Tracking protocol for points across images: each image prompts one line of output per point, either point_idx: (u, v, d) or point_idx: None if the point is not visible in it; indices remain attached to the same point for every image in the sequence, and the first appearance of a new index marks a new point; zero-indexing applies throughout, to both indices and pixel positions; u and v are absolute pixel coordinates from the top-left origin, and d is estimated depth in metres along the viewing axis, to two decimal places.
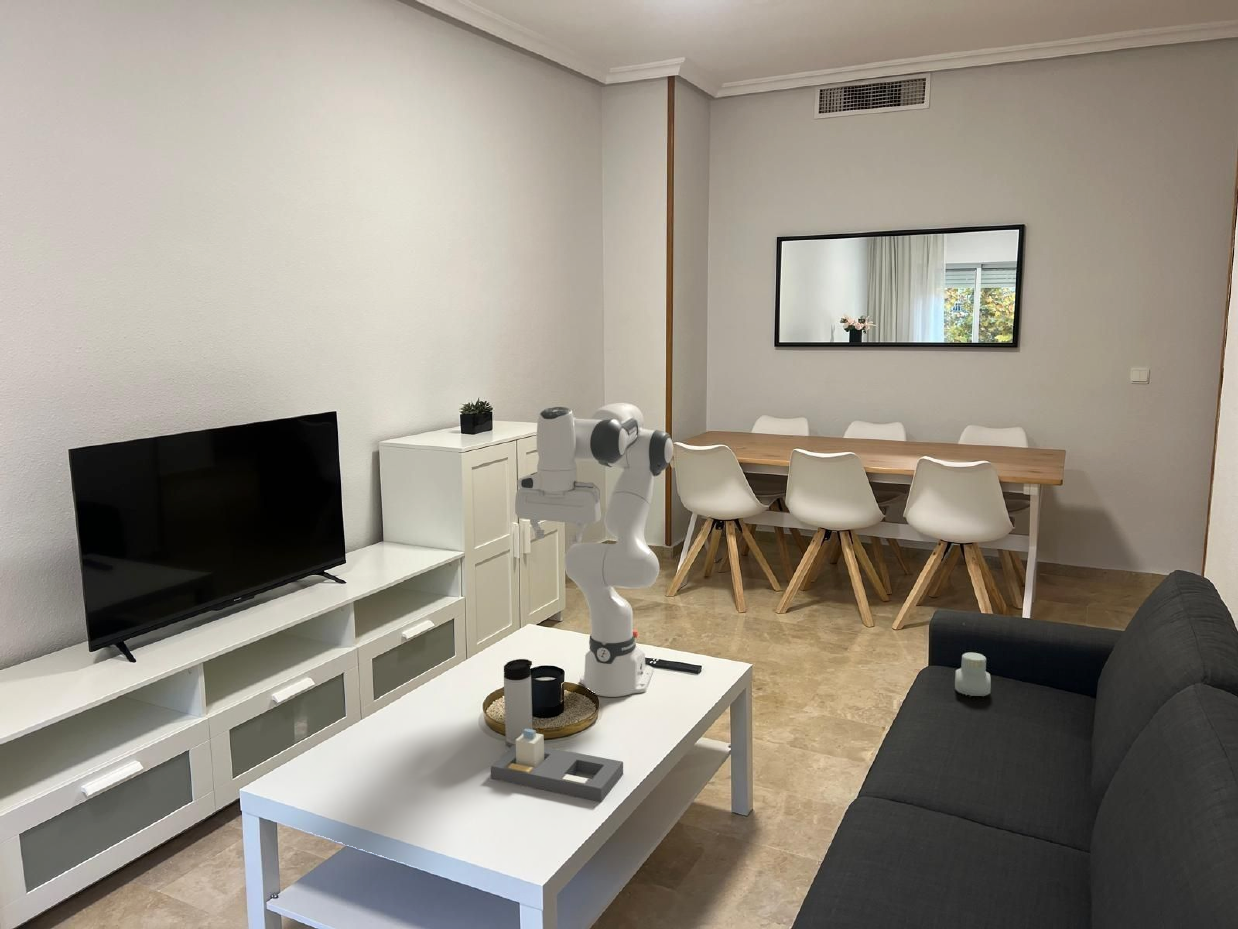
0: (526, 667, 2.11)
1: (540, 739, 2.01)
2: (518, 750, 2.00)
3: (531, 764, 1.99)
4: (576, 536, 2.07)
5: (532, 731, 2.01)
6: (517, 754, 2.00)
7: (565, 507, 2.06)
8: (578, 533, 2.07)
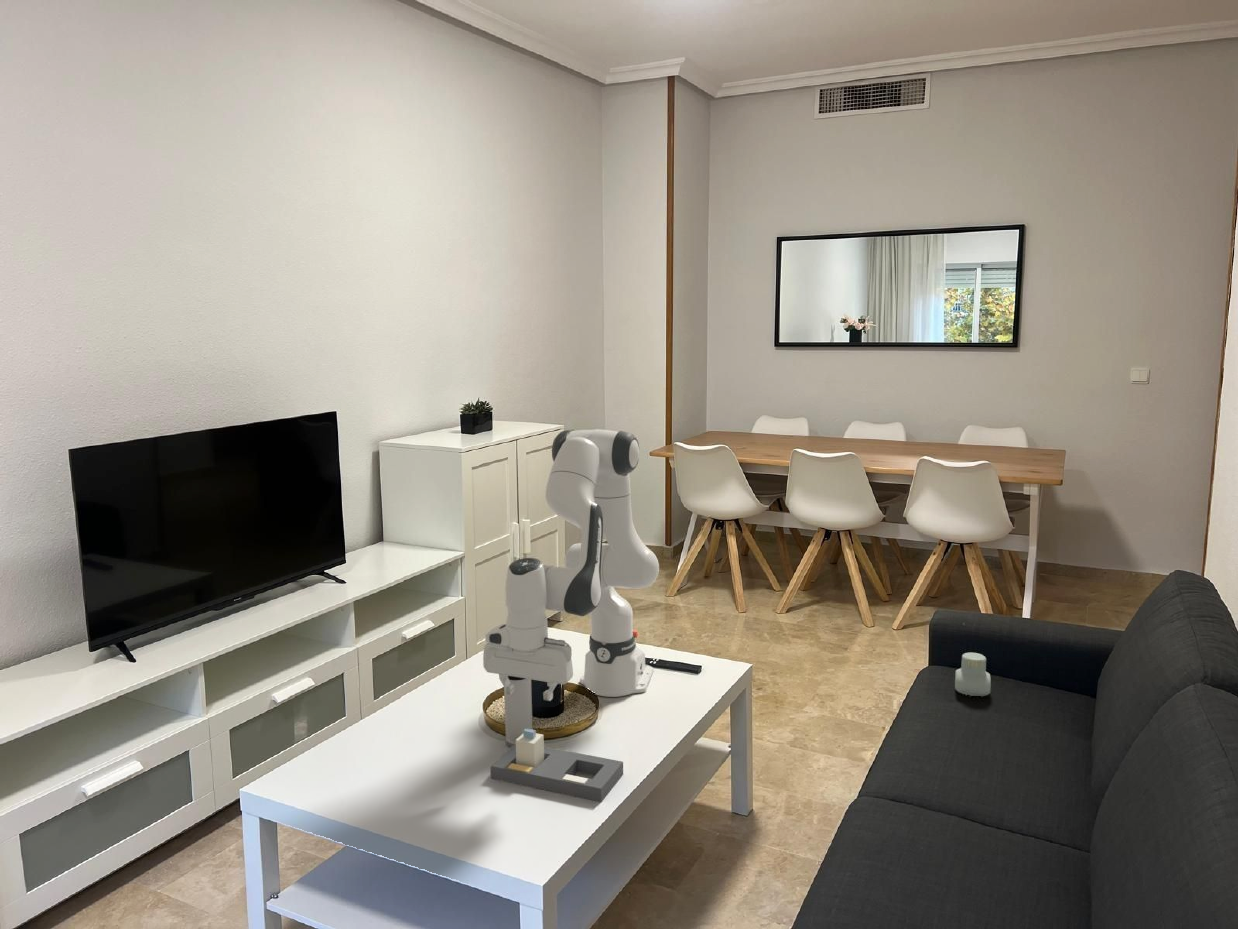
0: None
1: (540, 739, 2.01)
2: (518, 750, 2.00)
3: (531, 764, 1.99)
4: (547, 694, 1.97)
5: (532, 731, 2.01)
6: (517, 754, 2.00)
7: (535, 664, 1.95)
8: (549, 692, 1.96)
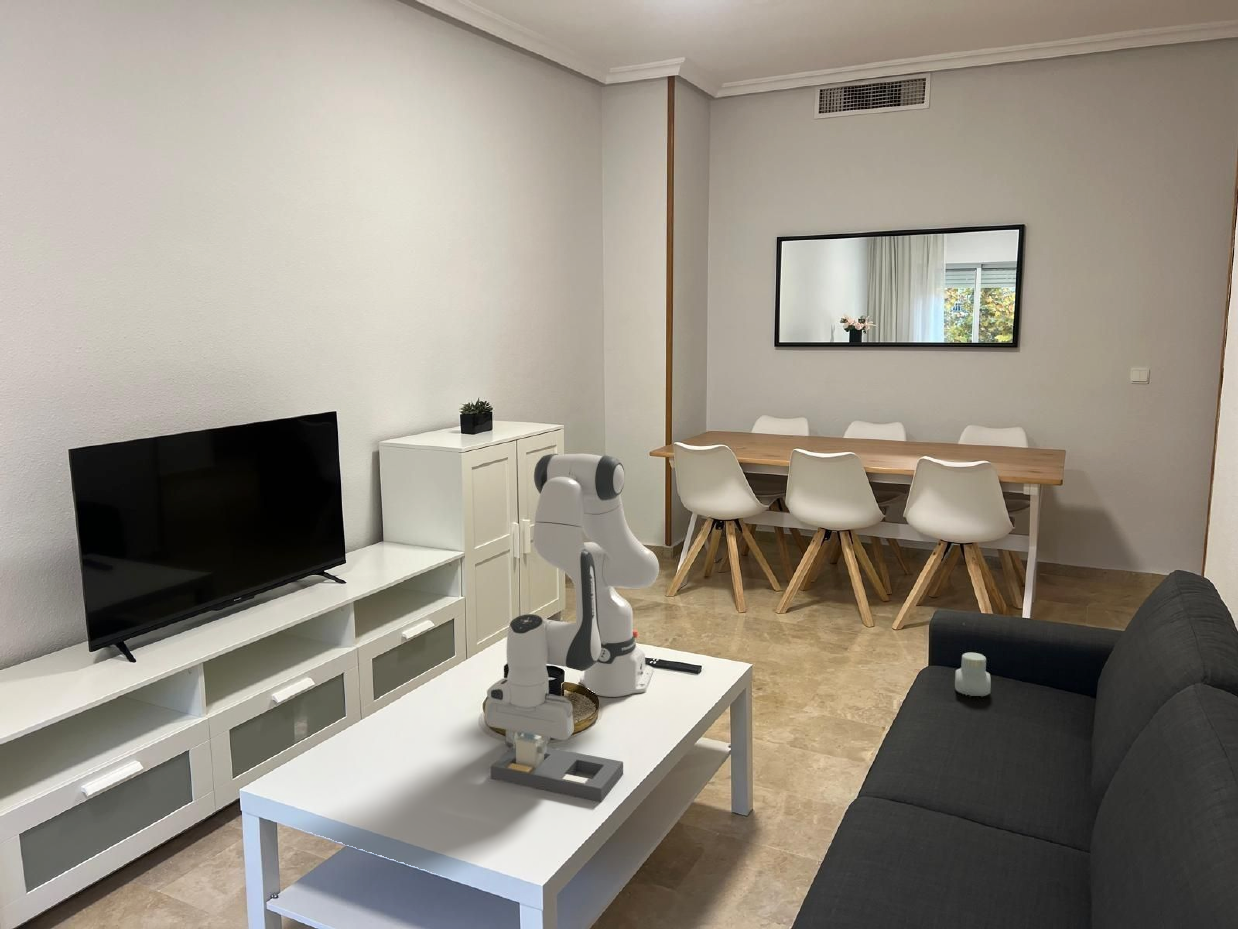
0: None
1: (540, 739, 2.01)
2: (518, 750, 2.00)
3: (531, 764, 1.99)
4: (541, 748, 2.00)
5: None
6: (517, 754, 2.00)
7: (536, 720, 1.98)
8: (543, 745, 1.99)
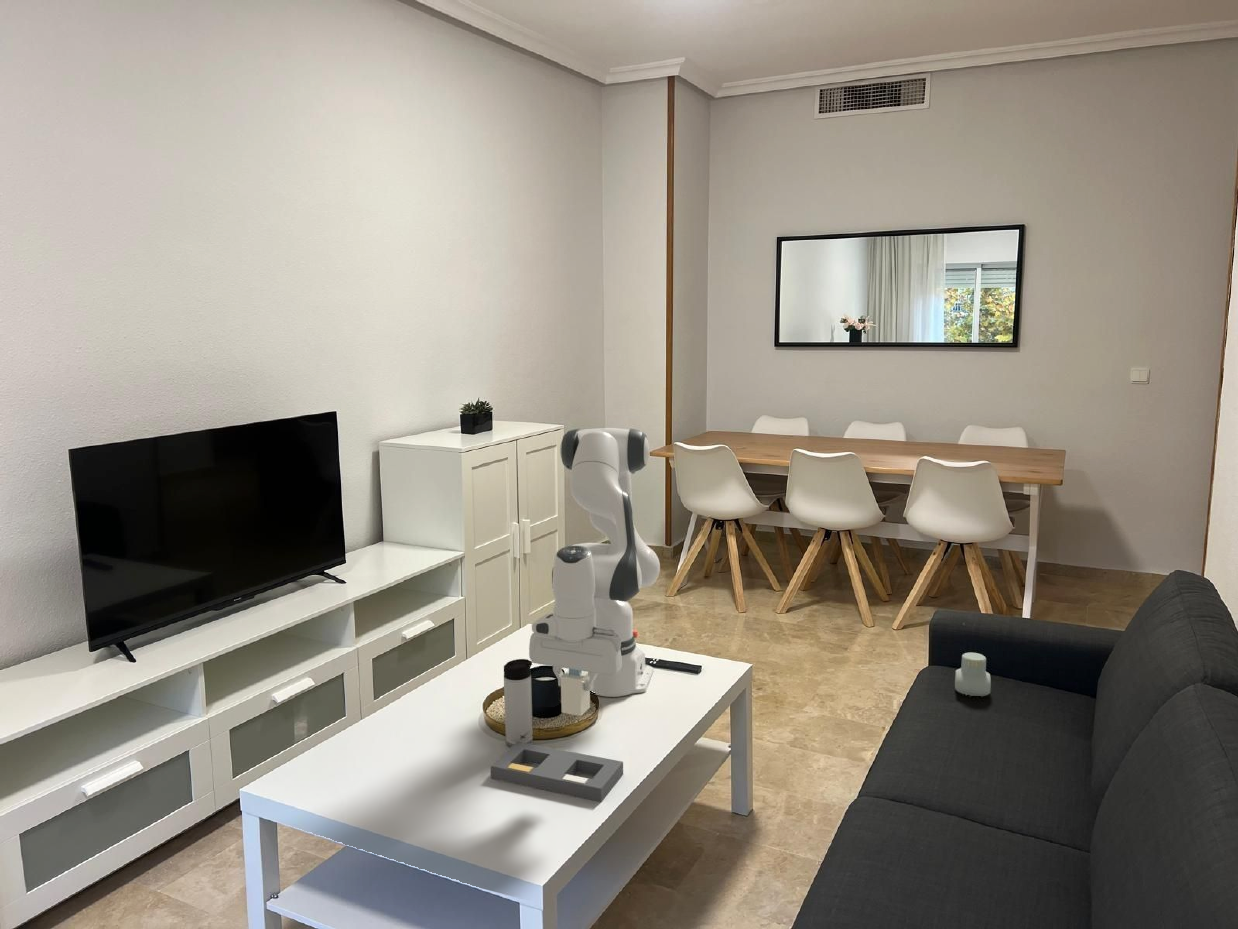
0: (526, 667, 2.11)
1: (586, 676, 1.94)
2: (563, 686, 1.93)
3: (577, 701, 1.92)
4: (587, 685, 1.92)
5: None
6: (562, 691, 1.93)
7: (583, 655, 1.90)
8: (589, 682, 1.92)
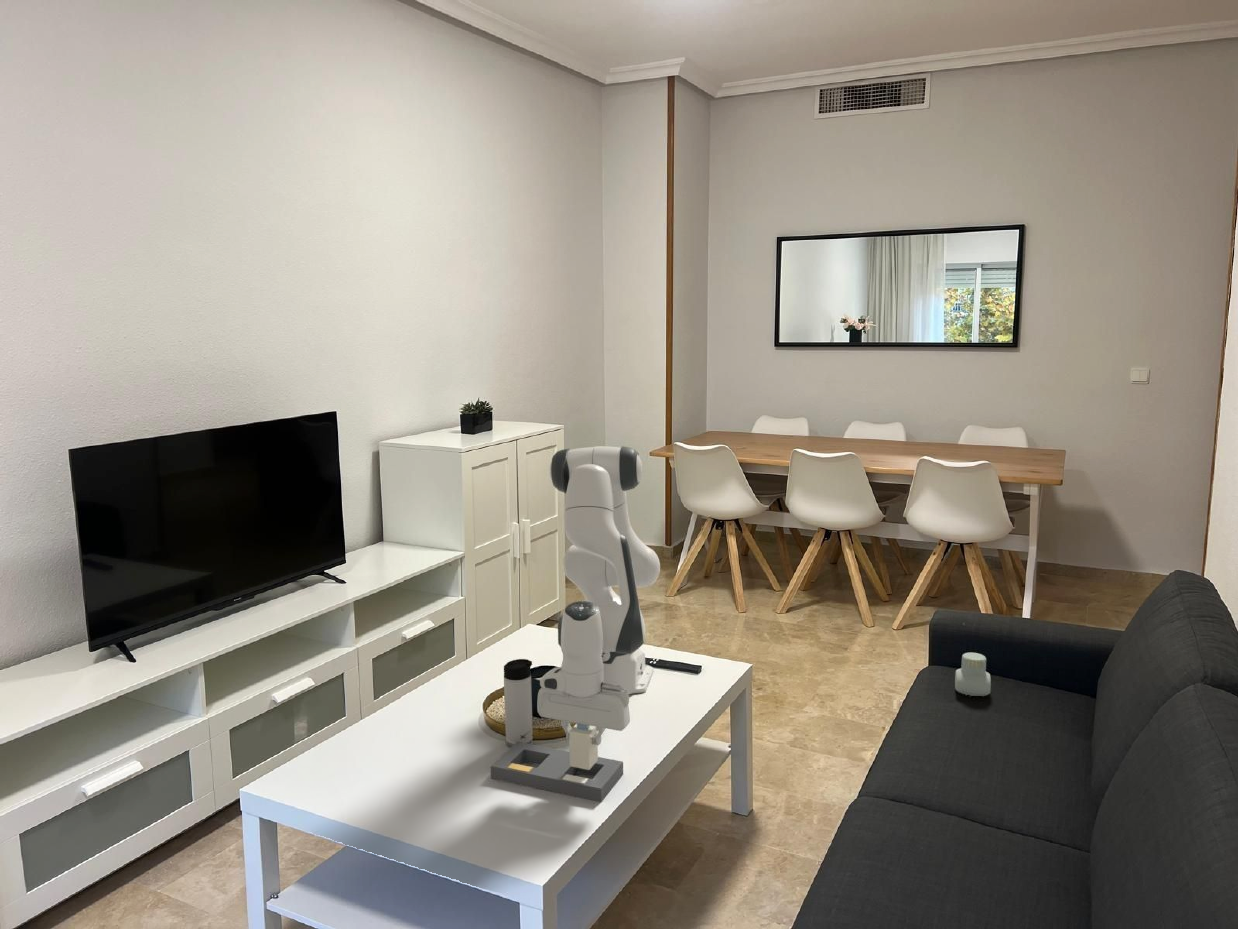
0: (526, 667, 2.11)
1: (594, 730, 1.95)
2: (571, 741, 1.94)
3: (586, 755, 1.94)
4: (595, 739, 1.94)
5: None
6: (571, 745, 1.95)
7: (591, 710, 1.92)
8: (597, 736, 1.93)
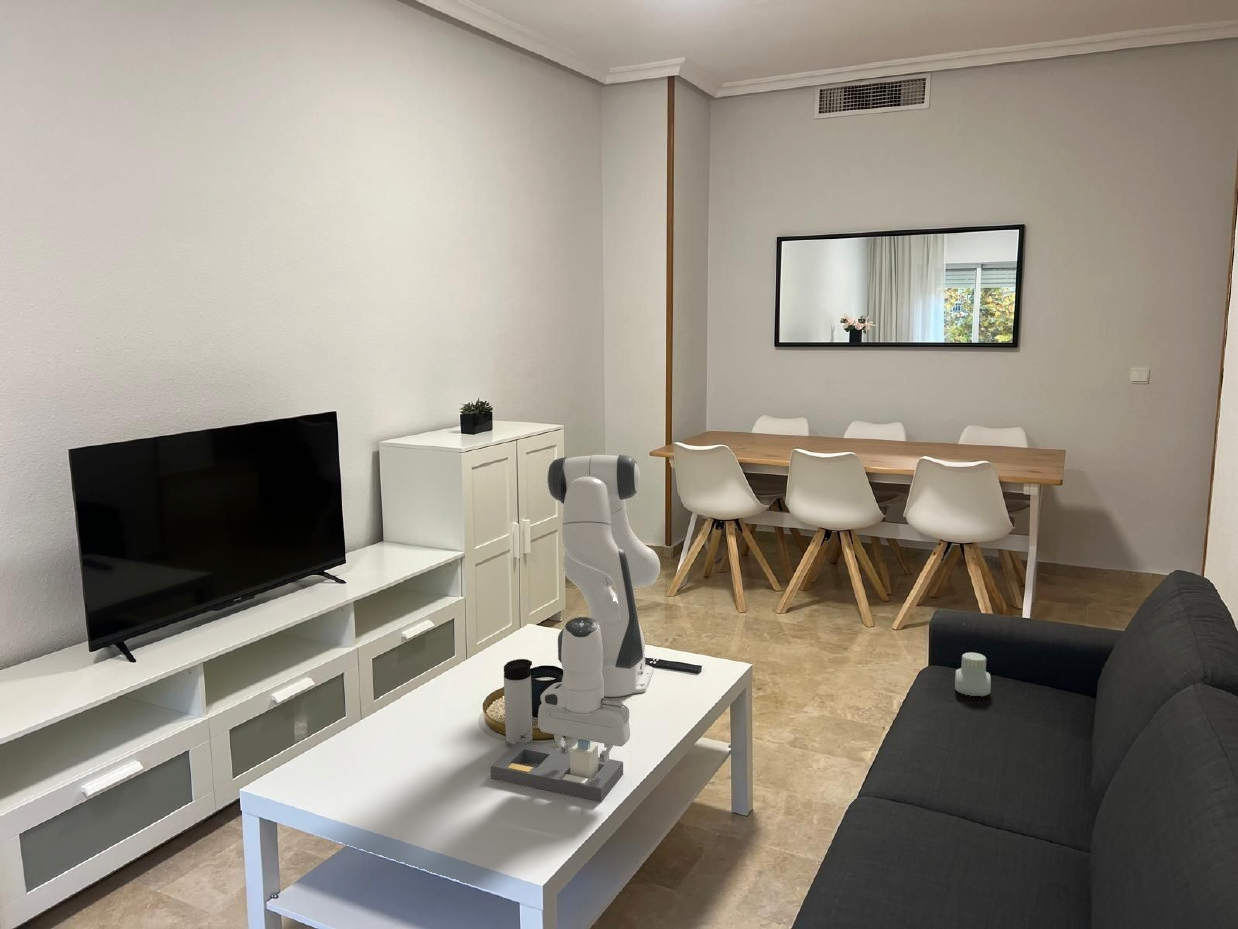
0: (526, 667, 2.11)
1: (595, 749, 1.96)
2: (572, 760, 1.95)
3: (586, 775, 1.95)
4: (603, 756, 1.94)
5: (587, 741, 1.96)
6: (571, 765, 1.96)
7: (591, 726, 1.93)
8: (606, 753, 1.93)
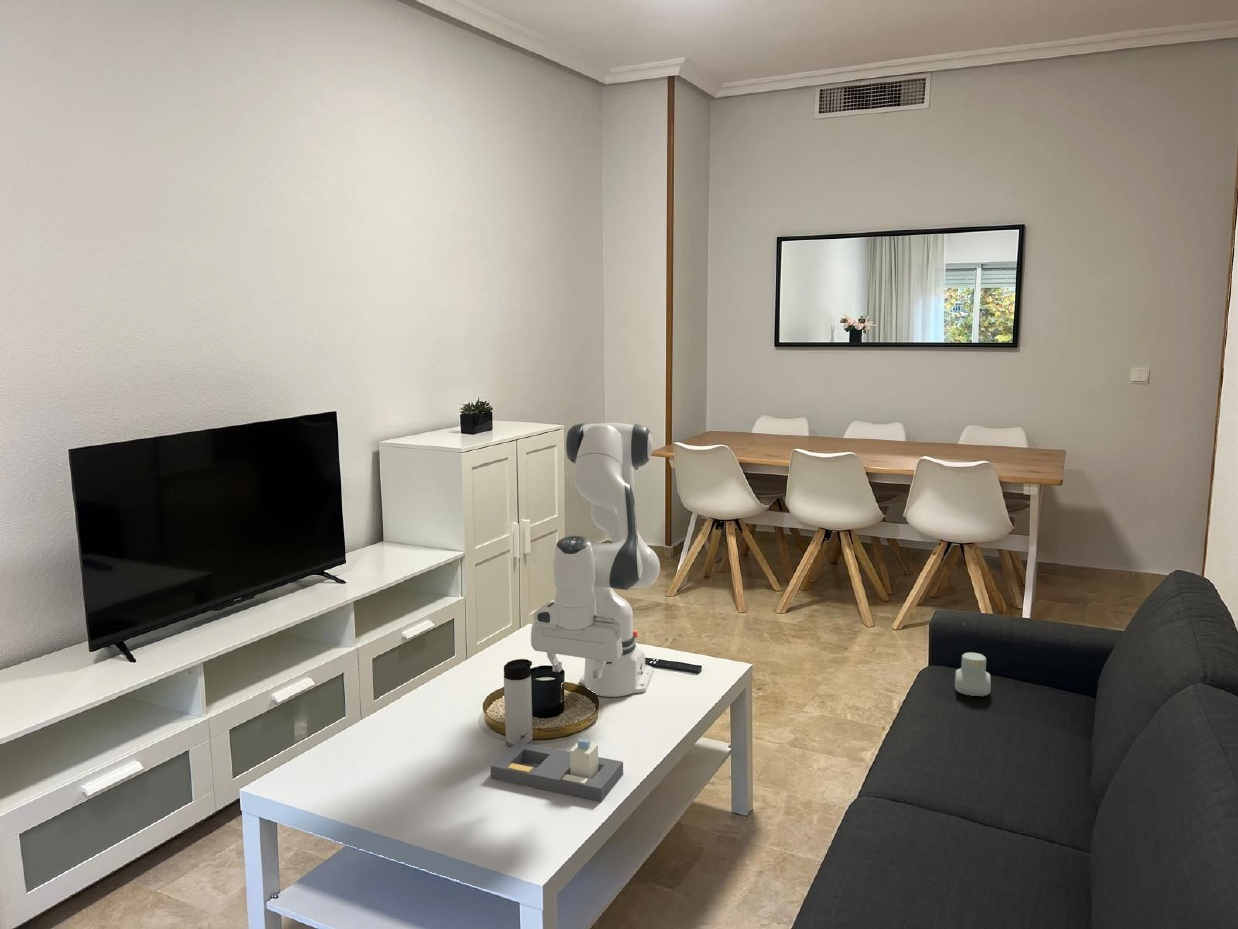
0: (526, 667, 2.11)
1: (595, 749, 1.96)
2: (572, 760, 1.95)
3: (586, 775, 1.95)
4: (596, 672, 1.95)
5: (587, 741, 1.96)
6: (571, 765, 1.96)
7: (584, 643, 1.94)
8: (598, 669, 1.95)
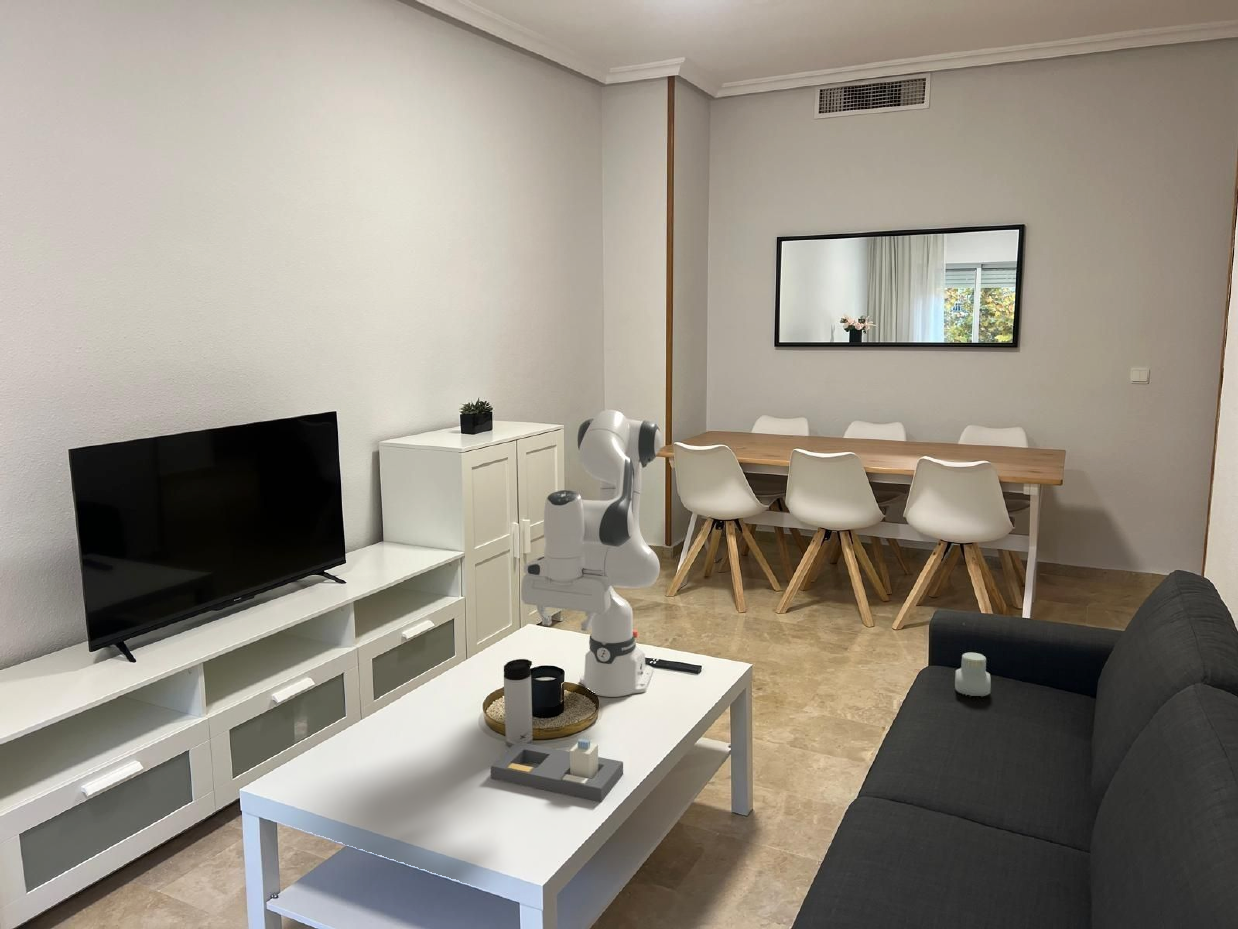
0: (526, 667, 2.11)
1: (595, 749, 1.96)
2: (572, 760, 1.95)
3: (586, 775, 1.95)
4: (585, 624, 1.99)
5: (587, 741, 1.96)
6: (571, 765, 1.96)
7: (573, 595, 1.98)
8: (587, 622, 1.99)
